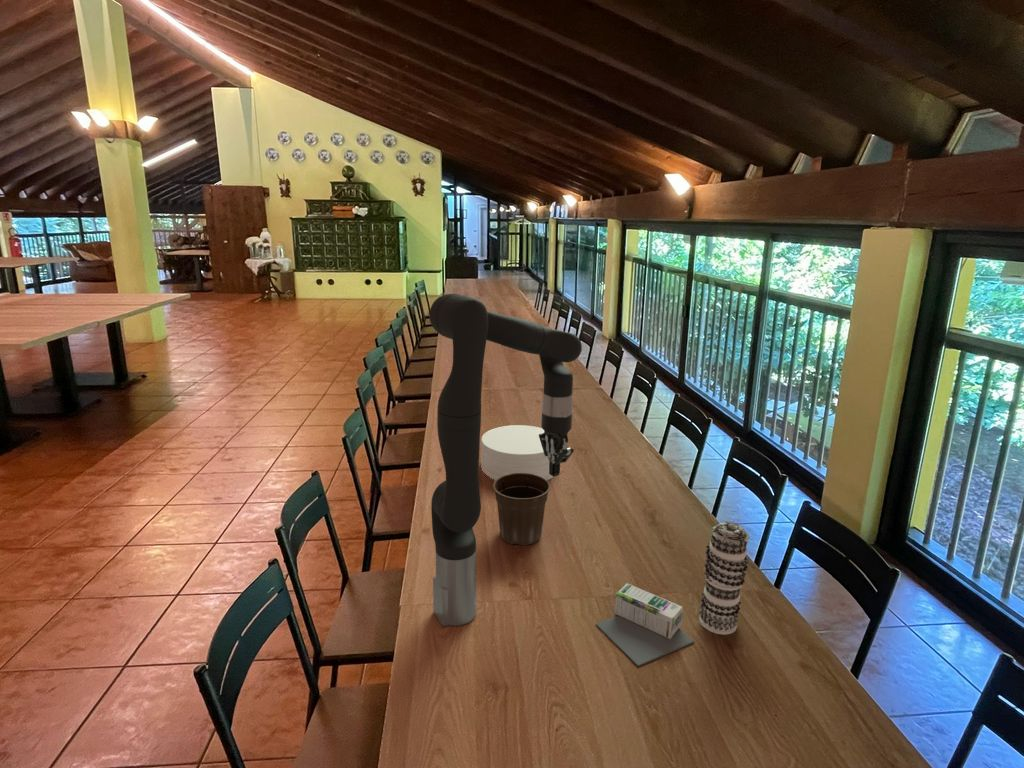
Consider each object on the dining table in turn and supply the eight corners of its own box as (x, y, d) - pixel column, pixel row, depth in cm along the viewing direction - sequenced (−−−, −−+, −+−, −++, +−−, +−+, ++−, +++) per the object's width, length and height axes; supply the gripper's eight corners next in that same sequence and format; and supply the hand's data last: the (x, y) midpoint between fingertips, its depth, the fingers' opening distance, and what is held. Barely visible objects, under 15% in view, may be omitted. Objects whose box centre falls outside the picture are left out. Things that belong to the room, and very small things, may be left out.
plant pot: (517, 556, 169) (519, 503, 164) (481, 533, 180) (481, 483, 176) (559, 537, 179) (562, 486, 175) (522, 515, 191) (523, 468, 186)
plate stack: (473, 481, 214) (473, 450, 211) (489, 450, 240) (490, 422, 237) (553, 488, 210) (555, 457, 206) (561, 456, 236) (562, 428, 233)
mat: (638, 666, 130) (638, 665, 130) (595, 624, 142) (595, 623, 142) (693, 642, 137) (694, 641, 137) (649, 604, 150) (649, 603, 150)
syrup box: (626, 582, 148) (683, 605, 140) (625, 603, 150) (681, 627, 141) (615, 593, 144) (673, 618, 136) (613, 614, 146) (671, 640, 137)
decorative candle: (689, 615, 146) (700, 521, 139) (719, 606, 150) (732, 514, 143) (715, 640, 138) (728, 541, 131) (747, 629, 142) (762, 533, 135)
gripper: (530, 405, 155) (528, 468, 160) (558, 421, 144) (555, 488, 149) (555, 401, 159) (552, 462, 164) (585, 416, 148) (581, 482, 153)
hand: (554, 474), depth 157 cm, fingers closed
